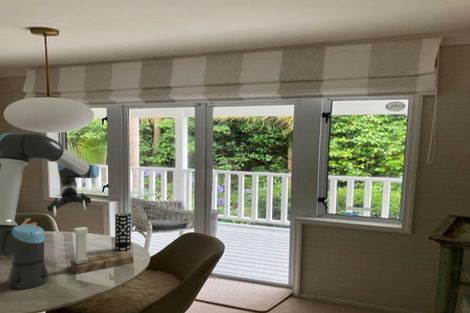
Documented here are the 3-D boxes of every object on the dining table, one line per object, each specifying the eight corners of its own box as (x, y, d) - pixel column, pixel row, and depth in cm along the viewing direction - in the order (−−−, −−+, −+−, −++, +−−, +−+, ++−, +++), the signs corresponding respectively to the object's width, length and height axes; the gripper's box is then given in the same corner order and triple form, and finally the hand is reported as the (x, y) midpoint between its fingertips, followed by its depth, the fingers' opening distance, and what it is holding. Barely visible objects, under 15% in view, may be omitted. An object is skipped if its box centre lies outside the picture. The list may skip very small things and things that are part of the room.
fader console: (77, 274, 156) (77, 266, 156) (70, 266, 166) (70, 259, 166) (133, 262, 172) (133, 256, 172) (123, 256, 182) (124, 250, 182)
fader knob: (76, 264, 159) (77, 230, 159) (73, 260, 164) (73, 228, 163) (88, 262, 162) (88, 229, 162) (84, 258, 167) (84, 226, 166)
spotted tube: (111, 250, 192) (112, 214, 192) (123, 246, 200) (123, 212, 199) (122, 252, 188) (123, 216, 188) (133, 249, 196) (134, 213, 195)
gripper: (95, 195, 195) (97, 212, 177) (45, 204, 185) (43, 224, 167) (92, 183, 192) (95, 199, 174) (42, 192, 183) (39, 210, 164)
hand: (69, 211), depth 170 cm, fingers open, 13 cm apart
